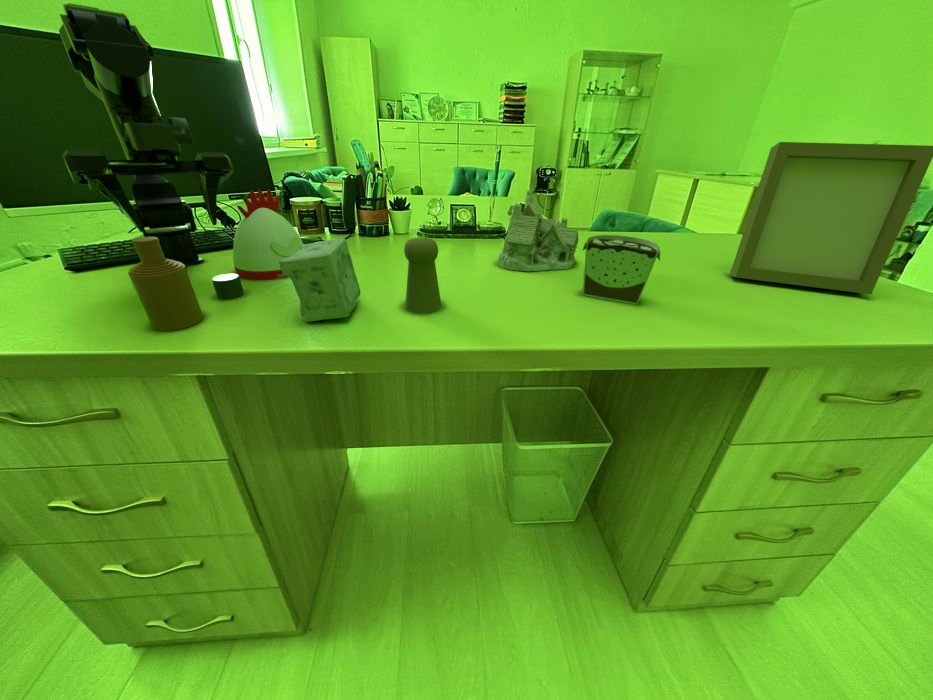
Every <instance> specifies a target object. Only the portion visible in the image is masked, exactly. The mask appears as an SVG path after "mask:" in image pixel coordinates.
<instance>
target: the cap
mask: <svg viewBox="0 0 933 700" xmlns="http://www.w3.org/2000/svg"><path fill="white" fill-rule="evenodd" d="M211 280H212V285H213V288H214V291H215V294H216V296H217V298H218V299H220V300H232V299H237V298H240V297H242V296H243V295H244V294H245V292H244V288H243V284H242V280H241V277H239V275H237V274H236V273H222V274H218V275H215V276H213V277H212V278H211Z"/></svg>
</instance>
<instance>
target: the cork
mask: <svg viewBox="0 0 933 700" xmlns="http://www.w3.org/2000/svg"><path fill="white" fill-rule="evenodd" d="M403 251H404V252H403V253H404V256H405V259H406V260H407V261H408V263H407V266H408V267H407V276H406V289H405V290H406V291H405V302H404V303H405V305H404V306H405V307H404V308H405V309H406V311H408V312H410V313H413V314H422V315H423V314H431V313H435V312H438V311H439V310H441V308H443V307H442V301H441V293H440V287H439V281H438V275H437V268H436V266H437V265H436V259H437V258H438V255H439V247H438V244H437V242H436V241H435V240H434V239H432V238H429V237H413V238H410V239H408V240H406V242H405V244H404V247H403Z"/></svg>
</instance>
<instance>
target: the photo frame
mask: <svg viewBox="0 0 933 700" xmlns="http://www.w3.org/2000/svg"><path fill="white" fill-rule="evenodd" d="M932 160H933V145H927V144H926V145H924V144H922V145H921V144H920V145H918V144H882V143H879V144H878V143H844V142H843V143H842V142H841V143H839V142H803V141H802V142H798V141H796V142H795V141H779V142H777V143H776V144H774V145H773V146H772V147H770V149H769V152H768V156H767V159H766V163H765V165H764V168H763V171H762V175H761V177H760V180H759V182H758V183H759V184H758V186H757V189H756V193H755V196H754V198H753V202H752V205H751V208H750V211H749V214H748V216H747V219H746V220H747V221H746V223H745V226H744V230H743V233H742V236H741V239H740V242H739V245H738V248H737V251H736V254H735V257H734V260H733V264H732V267H731V269H730V273H729V276H730V277H733V278H738V279H747V280H753V281H762V282H769V283H779V284H786V285H794V286H803V287H808V288H809V287H810V288H816V289H817V288H819V289H825V290H834V291H841V292H848V293H849V292H850V293H856V294H857V293H858V294H866V295H872V294H873V291H874V289H875V288H876V286H877V283H878V280H879V278H880V277H881V274H882V272H883V269H884V267H885V265H886V262H887V261H888V258H889V256H890V253H891V252H892V249H893V247H894V245H895V242H896V240H897V238H898V236H899V233H900V231H901V229H902V227H903V225H904V223H905V220H906V218H907V217H908V215H909V211H910V209H911V206H912V204H913V202H914V200H915V198H916V196H917V194H918V192H919V189H920V187H921V184H922V183H923V180H924V178H925V175H926V173H927V172H928V169H929V167H930V165H931V162H932Z"/></svg>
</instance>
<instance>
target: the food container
mask: <svg viewBox="0 0 933 700" xmlns="http://www.w3.org/2000/svg"><path fill="white" fill-rule="evenodd" d="M586 239H587V240H586V241H585V242H584V245H583V247H582V251H585V258H584V269H583V271H584V272H583V285H582V286H583V287H582V296H586V297H591V298H596V299H603V300H607V301H613V302H614V301H615V302H619V303H626V304H630V305H631V304H632V305H638V304H639V302H640V300H641V297H642V294H643V292H644V290H645V287H646V285H647V282H648V280H649V277H650V275H651V272H652V270H653V268H654V265H655V263H656V261H657V260H658V261H659V262H660V261H661V253H662V252H661V247H660V245H659V244H658V243H656V242H654V241H651V240H648V239H645V238H640V237H635V236H628V235H619V234H618V235H617V234H599V235H593V236H590V237H588V238H586Z"/></svg>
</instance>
